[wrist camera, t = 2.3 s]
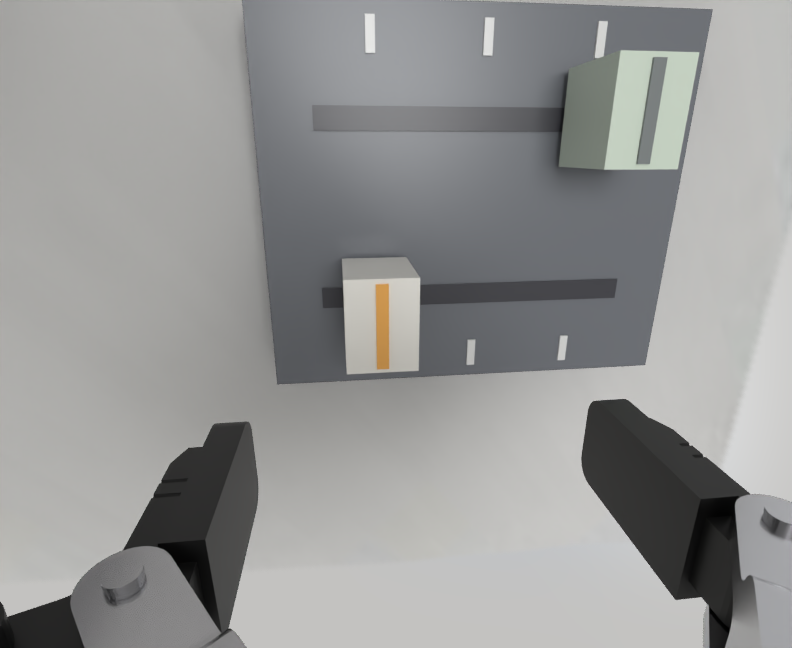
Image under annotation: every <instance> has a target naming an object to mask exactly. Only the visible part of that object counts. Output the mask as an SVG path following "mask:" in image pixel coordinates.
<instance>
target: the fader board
mask: <svg viewBox="0 0 792 648" xmlns="http://www.w3.org/2000/svg"><path fill="white" fill-rule="evenodd" d="M242 6H243V16H244V27H245V38H246V49H247V60H248V71H249V82H250V92H251V103H252V114H253V125H254V136H255V147H256V158H257V168H258V179H259V190H260V201H261V212H262V223H263V234H264V244H265V255H266V266H267V277H268V288H269V299H270V310H271V320H272V331H273V342H274V353H275V364H276V375H277V384H294V383H313V382H332V381H351V380H370V379H389V378H408V377H427V376H446V375H465V374H484V373H503V372H522V371H541V370H560V369H579V368H598V367H617V366H636V365H645V363H646V357H647V352H648V347H649V342H650V336H651V331H652V326H653V321H654V315H655V310H656V305H657V299H658V294H659V289H660V284H661V278H662V273H663V268H664V263H665V257H666V252H667V247H668V242H669V236H670V231H671V226H672V221H673V215H674V210H675V205H676V200H677V194H678V189H679V184H680V178H681V173H682V168H683V163H684V157H685V152H686V147H687V142H688V136H689V131H690V126H691V121H692V115H693V110H694V105H695V100H696V94H697V89H698V84H699V79H700V73H701V68H702V63H703V57H704V52H705V47H706V42H707V36H708V31H709V26H710V21H711V15H712V10H713V9H690V8H662V7H634V6H606V5H578V4H550V3H522V2H494V1H466V0H242ZM620 50H631V51H672V52H699V58H698V63H697V68H696V74H695V79H694V84H693V90H692V95H691V100H690V106H689V111H688V116H687V122H686V127H685V133H684V138H683V143H682V149H681V154H680V159H679V165H678V169H646V170H601V169H586V168H570V167H559V157H560V148H561V139H562V129H563V120H564V111H565V102H566V92H567V83H568V74H569V69H570V68H572V67H575V66H578V65H581V64H584V63H586V62H589V61H592V60H595V59H598V58H600V57H603V56H606V55H609V54H612V53H614V52H617V51H620ZM385 257H407V259H408V260H409V262H410V263H411V265H412V266H413V268H414V269H415V271H416V272H417V274H418V275H419V277H420V323H419V371H404V372H385V373H365V374H347V369H346V350H345V328H344V302H343V276H342V259H345V258H385Z"/></svg>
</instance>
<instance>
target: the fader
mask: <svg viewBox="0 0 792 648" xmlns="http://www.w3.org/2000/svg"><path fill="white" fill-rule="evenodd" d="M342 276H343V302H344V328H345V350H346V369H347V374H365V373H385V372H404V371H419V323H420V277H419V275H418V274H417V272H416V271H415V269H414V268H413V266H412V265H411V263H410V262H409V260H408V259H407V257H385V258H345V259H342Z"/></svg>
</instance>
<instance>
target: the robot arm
mask: <svg viewBox="0 0 792 648" xmlns="http://www.w3.org/2000/svg"><path fill="white" fill-rule="evenodd" d="M582 469H583V473H584V476H585V478H586V480H587V482H588V484H589V485H590V486H591V488H592V489H593V490H594V492H595V493H596V494H597V496H598V497H599V498H600V500H601V501H602V502H603V504H604V505H605V506H606V508H607V509H608V510H609V512H610V513H611V514H612V516H613V517H614V518H615V520H616V521H617V522H618V524H619V525H620V526H621V528H622V529H623V530H624V532H625V533H626V534H627V536H628V537H629V538H630V540H631V541H632V542H633V544H634V545H635V546H636V548H637V549H638V550H639V552H640V553H641V555H642V556H643V557H644V559H645V560H646V561H647V562H648V564H649V565H650V566H651V568H652V569H653V571H654V572H655V573H656V575H657V576H658V577H659V578H660V580H661V581H662V582H663V584H664V585H665V587H666V588H667V589H668V591H669V592H670V593H671V595H672V596H673V597H674V598H675V599H676V600H679V599H687V598H697V597H702V598H703V599H704V601H705V602H706V603H707V606H706V609H705V613H704V618H703V648H792V502H789V501H787V500H784V499H781V498H777V497H773V496H768V495H761V494H750V493H748V492H747V491H746V490H745V489H744V488H742V487H741V486H740V485H739V484H738V483H736V482H735V481H734V480H733V479H731V478H730V477H729V476H728V475H727V474H726V473H724V472H723V471H722V470H721V469H720V468H718V467H717V466H716V465H715V464H714V463H712V462H711V461H710V460H709V459H708V458H706V457H703V454H702V453H700V452H699V451H698V450H697V449H696V448H694V447H693V446H689V443H688V442H687V441H686V440H685V439H684V438H682V437H681V436H680V435H679V434H678V433H676V432H675V431H674V430H673V429H671V428H669V427H667V426H665V425H663V424H661V423H659V422H657V421H655V420H653V419H651V418H648V417H647V416H646V415H645V414H643V413H642V412H641V411H640V410H639V409H638V408H637V407H635V406H634V405H633V404H632V403H631V402H629V401H628V400H626V399H617V400H601V401H593V402H592V403H591V404H590V406H589V409H588V415H587V422H586V429H585V436H584V443H583V450H582ZM161 481H162V482H161V483H160V484H159V486H158V487H157V489H156V491H155V493H154V497H153V498H151V500H150V502H149V504H148V506H147V507H146V509H145V511H144V513H143V515H142V517H141V518H140V520H139V522H138V524H137V526H136V528H135V529H134V531H133V533H132V535H131V537H130V539H129V540H128V542H127V544H126V546H125V548H124V549H123V551H120V552H118V553H116V554H113V555H111V556H109V557H107V558H106V559H104V560H102V561H101V562H99V563H98V564H96V565H95V566H94V567H93V568H91V569H90V570H89V571H88V572H87V573H86V574H85V575H84V576H83V577H82V578H81V579H80V581H79V582H78V583H77V585H76V587H75V589H74V590H73V593H72V595H70V596H68V597H65V598H63V599H60V600H57V601H54V602H51V603H48V604H45V605H42V606H39V607H36V608H33V609H30V610H27V611H24V612H21V613H18V614H15V615H12V616H9V617H7V615H6V612H5V609H4V607H3V605H2V603H1V602H0V648H246V646H245V645H244V643H243V642H242V640H241V639H240V637H239V636H238V635H237V634H236V633H235V632H234V631H233V630H232V629H228V627H229V624H230V620H231V615H232V611H233V607H234V602H235V598H236V594H237V590H238V586H239V581H240V577H241V573H242V569H243V564H244V560H245V556H246V552H247V547H248V543H249V539H250V535H251V530H252V526H253V522H254V518H255V513H256V509H257V503H258V477H257V469H256V461H255V453H254V445H253V437H252V429H251V425H250V423H249V422H234V423H217V424H214V425H213V426H212V428H211V430H210V432H209V435H208V437H207V439H206V441H205V443H204V445H203V447H195V448H188V449H187V450H186V451H184V452H183V453H182V454H181V455H180V456H179V457H177V458H176V459H175V460H174V461H173V462H171V464H170V465H169V467H168V469H167V471H166V473H165V475H164V476H163V478H162V480H161Z"/></svg>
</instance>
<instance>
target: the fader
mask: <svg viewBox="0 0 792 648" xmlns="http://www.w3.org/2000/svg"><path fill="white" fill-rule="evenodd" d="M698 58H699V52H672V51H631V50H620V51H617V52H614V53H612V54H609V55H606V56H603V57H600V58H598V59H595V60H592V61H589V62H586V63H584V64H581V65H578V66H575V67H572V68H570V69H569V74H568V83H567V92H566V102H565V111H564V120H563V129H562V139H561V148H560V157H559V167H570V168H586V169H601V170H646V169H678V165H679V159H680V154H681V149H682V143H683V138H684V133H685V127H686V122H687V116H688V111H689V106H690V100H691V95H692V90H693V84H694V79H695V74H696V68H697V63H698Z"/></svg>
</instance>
